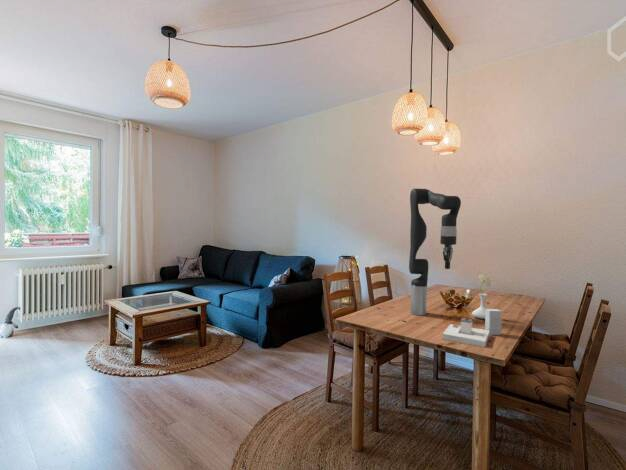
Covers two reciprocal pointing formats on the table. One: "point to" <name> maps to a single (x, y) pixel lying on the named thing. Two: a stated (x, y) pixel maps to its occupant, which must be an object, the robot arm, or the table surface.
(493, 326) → the skincare box
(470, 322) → the plug
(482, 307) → the flower in vase
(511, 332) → the table surface
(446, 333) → the socket plate
